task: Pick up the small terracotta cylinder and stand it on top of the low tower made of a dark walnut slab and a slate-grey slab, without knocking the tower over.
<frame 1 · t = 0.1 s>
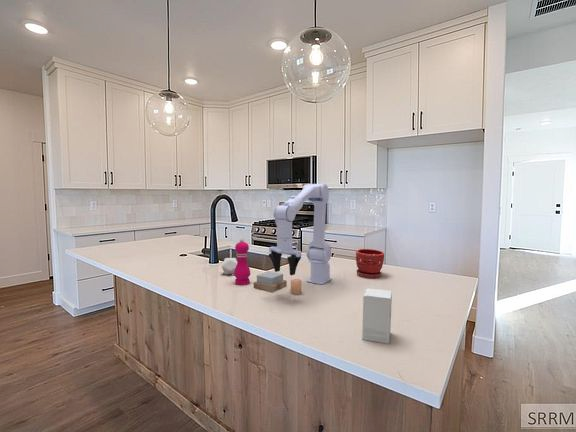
hand: (284, 273, 119), 10 cm above the countertop, tool pointing down, fingers open, 7 cm apart
supplement box: (376, 336, 89), on the countertop
pepper mill: (242, 283, 139), on the countertop
cylinder: (296, 292, 126), on the countertop
tower base: (270, 288, 133), on the countertop, touching tower top
tower top: (270, 281, 133), point 2 cm above the countertop, touching tower base
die: (230, 274, 154), on the countertop
plant pot: (369, 276, 151), on the countertop
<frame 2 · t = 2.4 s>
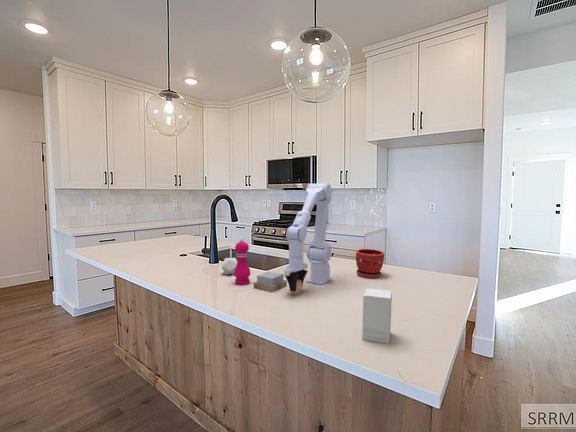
hand: (296, 289, 126), 1 cm above the countertop, tool pointing down, fingers closed on cylinder, 4 cm apart
cylinder: (296, 292, 126), on the countertop, touching gripper
everything else where it was.
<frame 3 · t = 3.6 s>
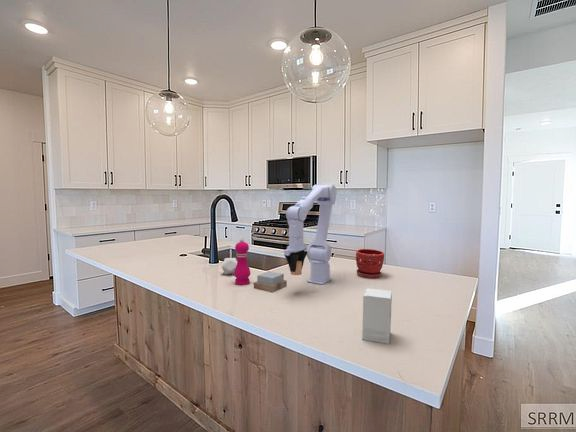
hand: (296, 270, 125), 9 cm above the countertop, tool pointing down, fingers closed on cylinder, 4 cm apart
cylinder: (296, 273, 125), point 8 cm above the countertop, touching gripper
everything else where it was.
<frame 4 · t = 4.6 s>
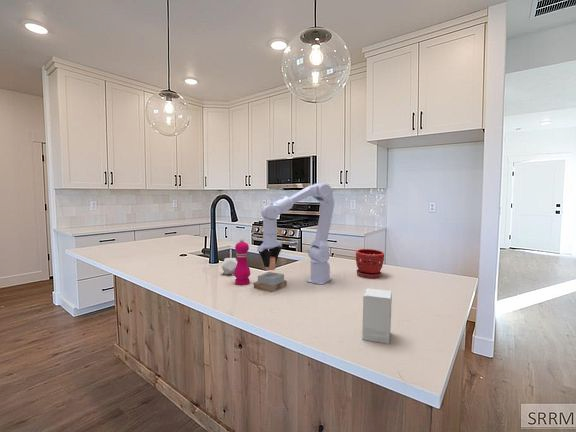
hand: (270, 265, 133), 9 cm above the countertop, tool pointing down, fingers closed on cylinder, 4 cm apart
cylinder: (270, 269, 133), point 8 cm above the countertop, touching gripper
everything else where it was.
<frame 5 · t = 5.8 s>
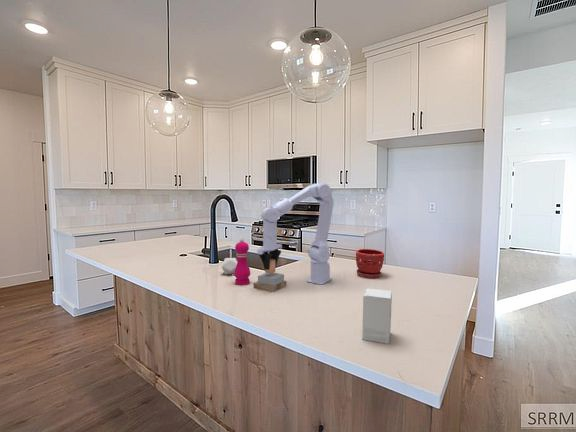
hand: (270, 268, 133), 8 cm above the countertop, tool pointing down, fingers closed on cylinder, 4 cm apart
cylinder: (270, 271, 133), point 7 cm above the countertop, touching gripper
tower base: (270, 288, 134), on the countertop
tower top: (271, 282, 133), point 2 cm above the countertop
everything else where it was.
when the fingers open (8 cm above the countertop, at t = 6.0 s): cylinder drops 1 cm, resting on tower top.
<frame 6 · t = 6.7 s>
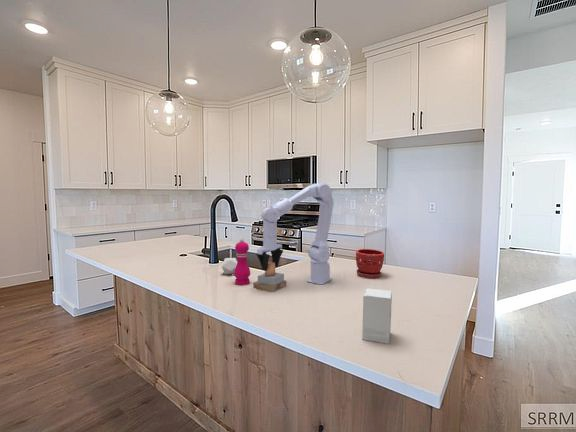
hand: (270, 268, 133), 8 cm above the countertop, tool pointing down, fingers open, 7 cm apart
cylinder: (270, 274, 133), point 5 cm above the countertop, touching tower top
tower base: (270, 288, 134), on the countertop, touching tower top
tower top: (271, 281, 133), point 2 cm above the countertop, touching cylinder, tower base
everything else where it was.
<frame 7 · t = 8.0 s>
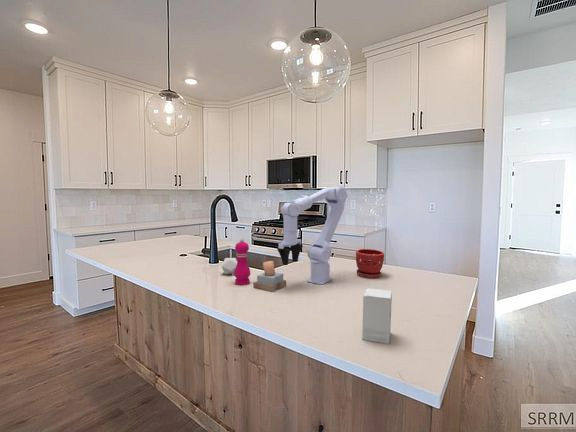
hand: (290, 263, 133), 10 cm above the countertop, tool pointing down, fingers open, 7 cm apart
cylinder: (270, 273, 133), point 6 cm above the countertop, tilted 10°, touching tower top
everything else where it was.
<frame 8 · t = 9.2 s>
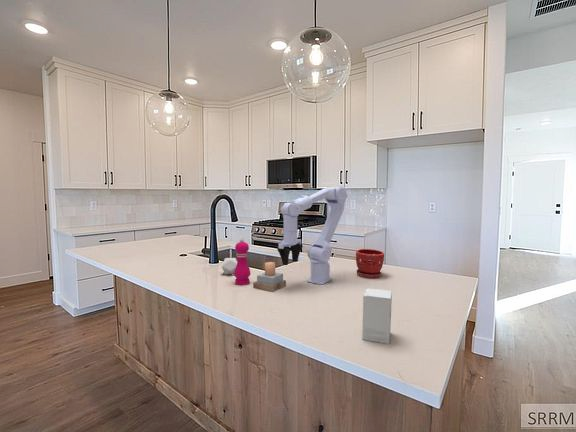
hand: (290, 263, 133), 10 cm above the countertop, tool pointing down, fingers open, 7 cm apart
cylinder: (270, 274, 133), point 5 cm above the countertop, touching tower top
everything else where it was.
at the end: cylinder 0.1 cm off-centre on the tower top, point 3.0 cm above the tower top's base; tower top tilted 0°; tower top 0.4 cm from the tower base (horizontally) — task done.
